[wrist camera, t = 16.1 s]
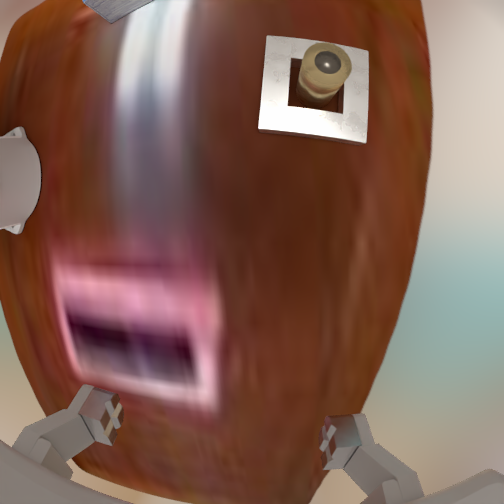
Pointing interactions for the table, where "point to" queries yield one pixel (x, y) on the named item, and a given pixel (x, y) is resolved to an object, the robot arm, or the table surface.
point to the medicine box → (114, 7)
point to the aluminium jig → (310, 120)
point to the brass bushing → (322, 74)
